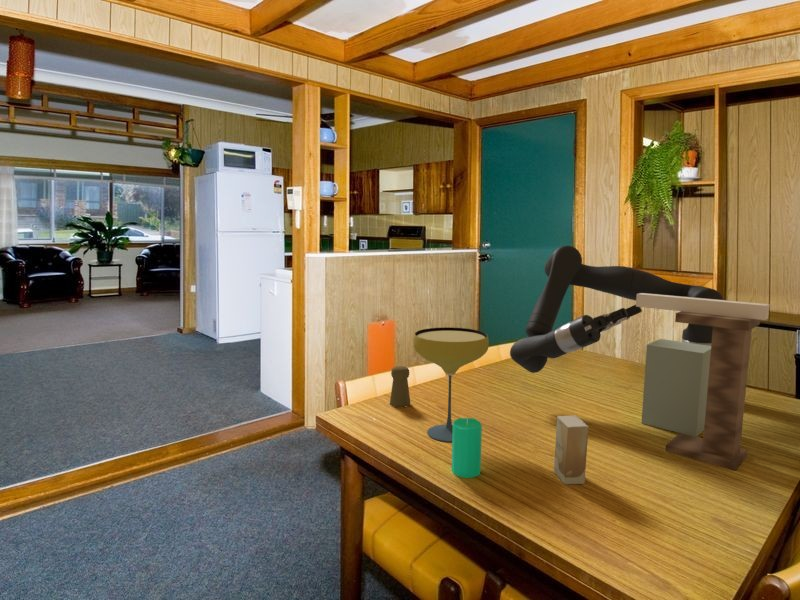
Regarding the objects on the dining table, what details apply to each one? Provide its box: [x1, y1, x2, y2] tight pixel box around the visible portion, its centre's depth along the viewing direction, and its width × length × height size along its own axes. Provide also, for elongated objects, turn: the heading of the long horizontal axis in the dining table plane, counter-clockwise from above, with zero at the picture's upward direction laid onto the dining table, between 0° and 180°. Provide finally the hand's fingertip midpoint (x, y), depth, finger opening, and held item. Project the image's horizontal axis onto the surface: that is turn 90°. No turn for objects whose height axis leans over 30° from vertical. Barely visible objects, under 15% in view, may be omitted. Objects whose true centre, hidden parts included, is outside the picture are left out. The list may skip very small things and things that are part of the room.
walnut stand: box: [665, 311, 761, 471], centre depth 120 cm, size 14×10×32 cm
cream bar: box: [635, 293, 770, 321], centre depth 120 cm, size 26×3×3 cm, turn 46°
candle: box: [451, 415, 483, 479], centre depth 112 cm, size 6×6×12 cm
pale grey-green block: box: [641, 338, 711, 437], centre depth 138 cm, size 13×10×21 cm
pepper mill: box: [389, 365, 411, 408], centre depth 154 cm, size 6×6×11 cm
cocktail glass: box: [412, 326, 490, 443], centre depth 131 cm, size 18×18×25 cm
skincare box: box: [553, 415, 589, 485], centre depth 109 cm, size 6×4×12 cm
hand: (633, 309), depth 130 cm, fingers open, 8 cm apart
